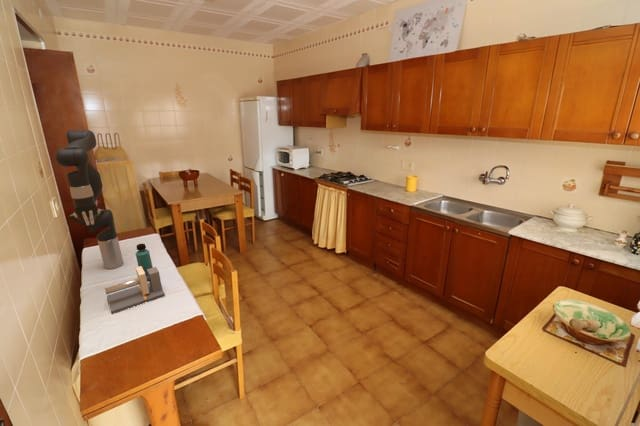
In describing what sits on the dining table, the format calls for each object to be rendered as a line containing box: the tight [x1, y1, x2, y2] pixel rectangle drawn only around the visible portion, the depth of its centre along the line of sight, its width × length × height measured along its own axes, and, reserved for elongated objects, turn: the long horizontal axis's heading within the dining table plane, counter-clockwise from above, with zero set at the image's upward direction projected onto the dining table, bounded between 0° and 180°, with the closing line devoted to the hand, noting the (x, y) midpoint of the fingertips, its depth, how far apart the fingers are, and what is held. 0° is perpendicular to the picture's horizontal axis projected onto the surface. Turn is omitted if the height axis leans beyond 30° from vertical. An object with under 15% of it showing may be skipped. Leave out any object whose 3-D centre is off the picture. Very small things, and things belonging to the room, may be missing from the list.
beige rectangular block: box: [135, 266, 149, 295], centre depth 146 cm, size 9×2×11 cm, turn 40°
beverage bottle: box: [135, 243, 154, 276], centre depth 159 cm, size 6×7×20 cm
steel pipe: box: [104, 275, 150, 296], centre depth 143 cm, size 3×19×3 cm, turn 130°
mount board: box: [106, 266, 166, 315], centre depth 145 cm, size 15×22×12 cm
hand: (92, 231), depth 138 cm, fingers closed
